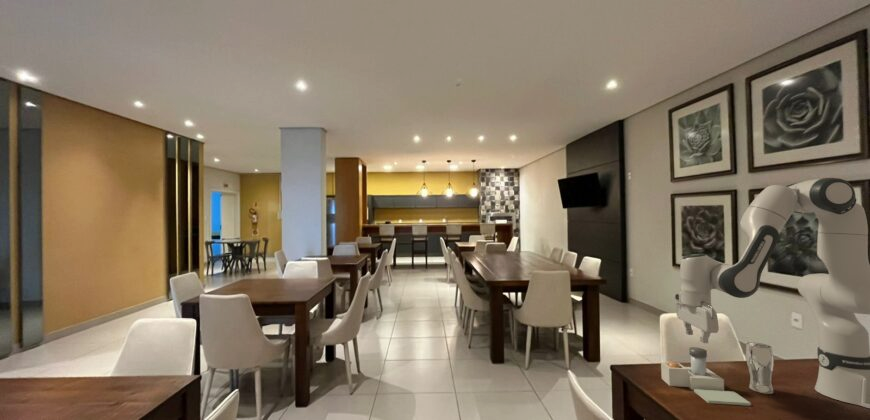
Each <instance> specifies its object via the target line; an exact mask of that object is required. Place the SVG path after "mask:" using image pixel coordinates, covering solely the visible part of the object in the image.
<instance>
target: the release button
mask: <svg viewBox="0 0 870 420" xmlns="http://www.w3.org/2000/svg"><path fill="white" fill-rule="evenodd" d="M668 362H669V367H671V368H679V362H675V361H668Z"/></svg>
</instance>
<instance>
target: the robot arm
mask: <svg viewBox="0 0 870 420" xmlns="http://www.w3.org/2000/svg"><path fill="white" fill-rule="evenodd" d="M793 213H796V214H797V213H798V214H802V213H809V214H811V213H812V214H813V213H814V215H815V216H816V218H817V220H818V225H817V240H816V241H817V243H816V244H817V246H816V254H817V257H818V258H819V260H820V261H822V262H823V263H824V265H825V267H826V270H827V272H828V273H821V272H820V273H810V274H809V273H808V274H806V275H803V276H802V277H801V278H800V279H799V280H798V283H797V290H798V293H799V294H800V295H801V296H802V298H804V299H805V301H806V302H807V304H808V305H809V307H810V310H811V312H812V315H813V317H814V319H815V322H816V327H817V328H816V329H817V336H818V347H817V361H818V364H819V365H818V374H817V379H816V383H815V386H814V390H815V391H816V392H818V393H819V394H821V395H823V396H826V397H828V398H831V399H834V400H836V401H837V400H838V401H840V402H844V403H849V404H852V405H856V406H861V407H863V408H867V409H870V336H869V335H870V334H869V331H868V329H867V328H866V327H865V326H864V325H863V324H862V323H861V322H860V321H859V319H858V318H857V317H856V315H855V314H858V315H859V314H860V315H870V262H869V261H870V260H869V254H868V253H869V252H868V251H869V250H868V248H869V247H868V245H869V241H868V240H869V239H868V238H869V236H868V235H869V226H868V219H867V215H866V211H865V208H864V207H863V206H862V205H861V204H859V203H857V197H856V192H855V187H853V186H852V184H851V183H850V182H848V181H847V180H845V179H843V178H836V177H823V178H814V179H808V180H804V181H801V182H796V183H791V184H789V185H781V184H772V185H769V186H766V187H765V188H764V189H763V190H762V191H760V193H759V194H758V195H756V196H755V198H754V199H753V200H752V202H750V204H749V205H748V207H747V208H746V210H745V211H744V213H743V214H742V217H741V219H740V221H739V225H740V228H741V229H742V232H743V233H745V234H746V235H747V236H748V239H749V240H748V241H749V242H748V244H747V246H746V248H745V250H744V252H743V253H742V255H741V257H740V258H739V260H738V262H736V263H735V264H733V265H731V264H728V263H723V262H722V261H718V260H715V259H714V258H712V257H710V256H708V255H707V254H705V253H690V254H685V255H684V256H683V257H682V258H681V260H680V268H679V279H680V282H681V284H680V291H679V292H677V293H674V300H675V313H676V317H677V319H679V320H681V321H683V323H682V324H683V327H684V328H685V334H686V335H688V336H692V335H694V330H693V329H692V326H693V327H695V328H696V329H699V330H700V331H701V336H700V337H699V339H700V342H701V343H702V344H709V338H710V336H711V334H717V333H718V332H719V320H718V314H717V312H716V310H715V308H714V307H713V305H712V290H717V291H720V292H722V293H726V294H727V295H729V296H732V297H734V298H738V299H744V298H748V297H751V296H753V295H754V294H756V292H758V289H759V288H760V283H761V278H762V277H761V276H762V273H763V271H764V269H765V267H766V265H767V263H768V261H769V259H770V258H771V256H772V255H773V252H774V250H775V248H776V246H777V244H778V242H779V240H780V233H781V232H782V230H783V228H784V227H785V225H786V224H787V222H788V221H789V219H790V218H791V216H792V215H793Z"/></svg>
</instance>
